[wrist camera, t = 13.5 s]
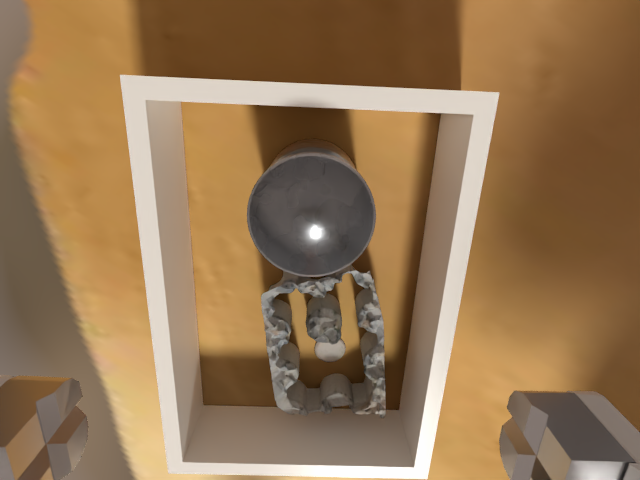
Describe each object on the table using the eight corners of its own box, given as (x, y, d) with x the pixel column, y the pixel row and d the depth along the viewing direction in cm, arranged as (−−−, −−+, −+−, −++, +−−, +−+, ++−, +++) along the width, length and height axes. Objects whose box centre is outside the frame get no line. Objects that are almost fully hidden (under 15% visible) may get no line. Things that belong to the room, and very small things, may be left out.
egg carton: (379, 382, 30) (389, 425, 26) (281, 390, 30) (276, 433, 26) (375, 253, 26) (386, 281, 22) (263, 262, 26) (254, 291, 23)
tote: (410, 420, 31) (427, 479, 26) (190, 415, 30) (168, 473, 26) (461, 92, 23) (499, 92, 18) (161, 78, 22) (119, 74, 18)
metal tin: (354, 232, 26) (367, 280, 19) (264, 226, 25) (246, 272, 19) (364, 140, 24) (383, 158, 17) (267, 133, 23) (248, 148, 17)
